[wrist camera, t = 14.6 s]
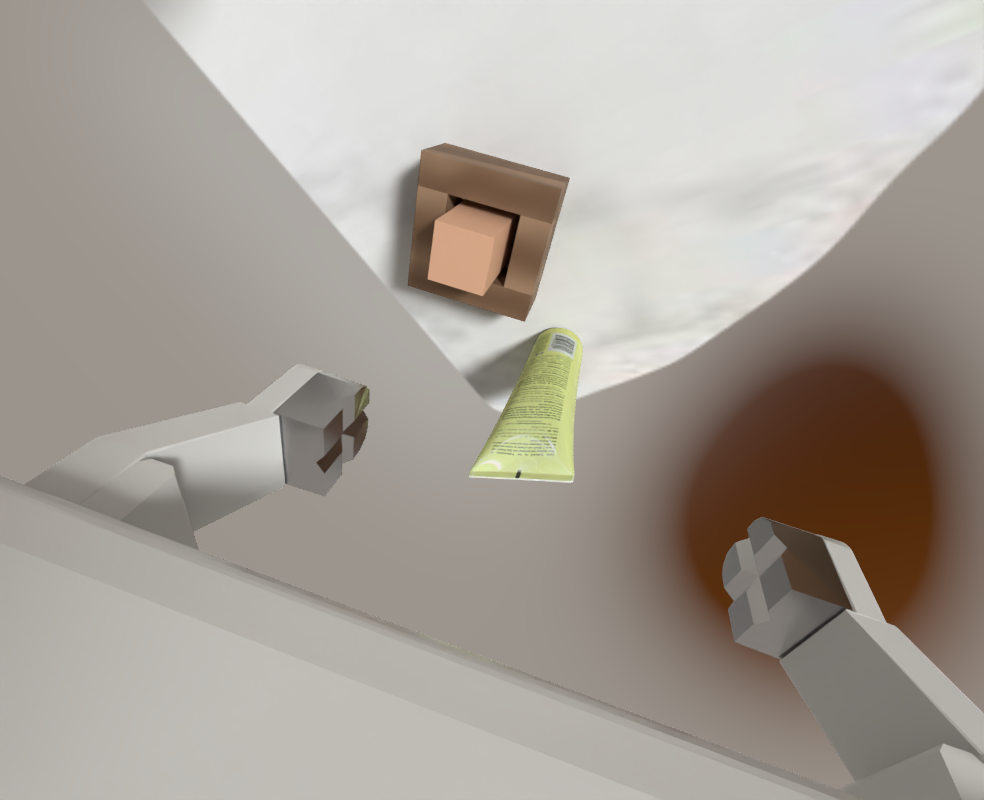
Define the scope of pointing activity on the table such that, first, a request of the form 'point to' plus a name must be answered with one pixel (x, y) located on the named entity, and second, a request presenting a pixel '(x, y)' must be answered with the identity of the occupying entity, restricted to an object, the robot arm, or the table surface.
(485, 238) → the peg
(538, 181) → the socket block
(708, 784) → the robot arm
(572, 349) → the tube
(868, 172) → the table surface
